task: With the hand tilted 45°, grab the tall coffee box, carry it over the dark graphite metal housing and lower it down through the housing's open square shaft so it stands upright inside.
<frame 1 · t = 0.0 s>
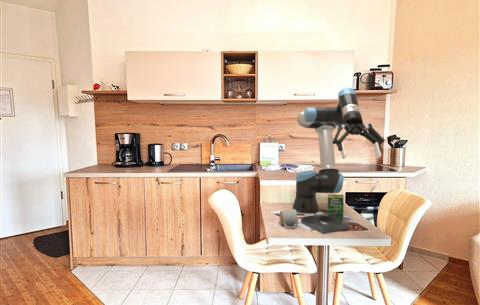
hand: (361, 157, 103), 36 cm above the table, tool tilted 35°, fingers open, 13 cm apart
coffee box: (335, 219, 137), on the table
ceramic mug: (289, 226, 127), on the table
housing: (324, 225, 127), on the table
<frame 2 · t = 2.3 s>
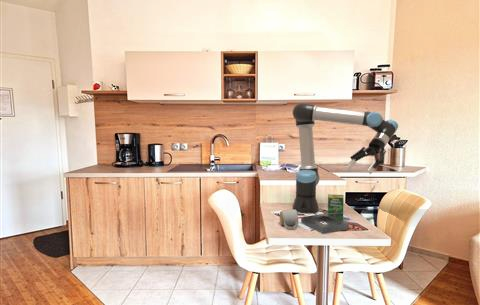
hand: (358, 170, 139), 26 cm above the table, tool tilted 45°, fingers open, 13 cm apart
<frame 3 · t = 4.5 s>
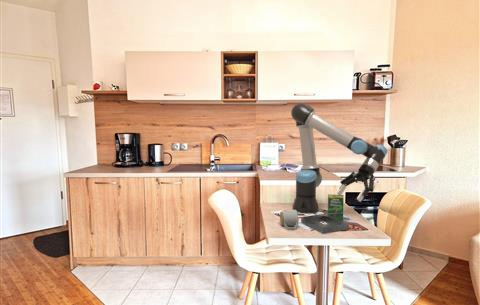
hand: (348, 197, 139), 11 cm above the table, tool tilted 45°, fingers open, 13 cm apart
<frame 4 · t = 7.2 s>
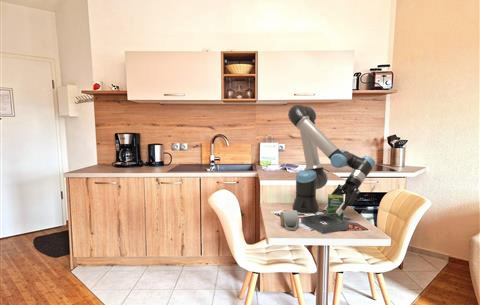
hand: (332, 211, 136), 4 cm above the table, tool tilted 45°, fingers closed on coffee box, 7 cm apart
coffee box: (335, 219, 137), on the table, touching gripper
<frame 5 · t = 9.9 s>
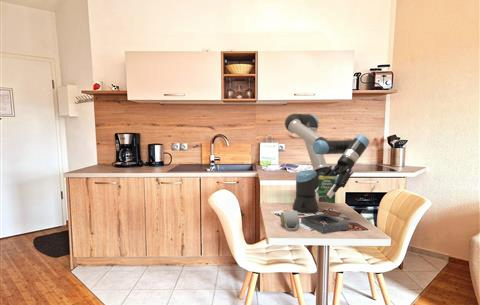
hand: (322, 194, 125), 16 cm above the table, tool tilted 45°, fingers closed on coffee box, 7 cm apart
coffee box: (326, 202, 126), point 12 cm above the table, touching gripper
when the fingers open (5 cm above the table, at t = 12.8 s): coffee box drops 1 cm, resting in housing.
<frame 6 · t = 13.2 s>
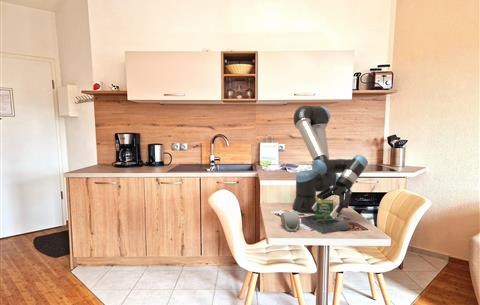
hand: (322, 213, 126), 6 cm above the table, tool tilted 45°, fingers open, 12 cm apart
coffee box: (324, 226, 127), resting in housing
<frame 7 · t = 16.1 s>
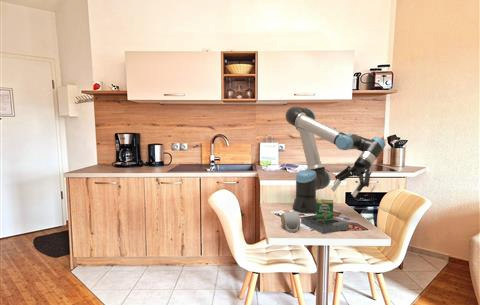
hand: (342, 192, 130), 16 cm above the table, tool tilted 45°, fingers open, 13 cm apart
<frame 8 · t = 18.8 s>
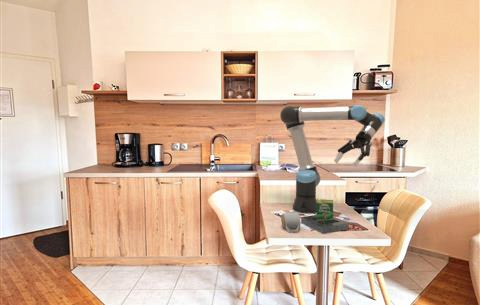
hand: (344, 163, 140), 30 cm above the table, tool tilted 45°, fingers open, 13 cm apart
at the end: coffee box inside the target area on the housing (0.1 cm from its centre), point 0.0 cm above the housing's base; coffee box tilted 0°; the gripper is holding nothing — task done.
